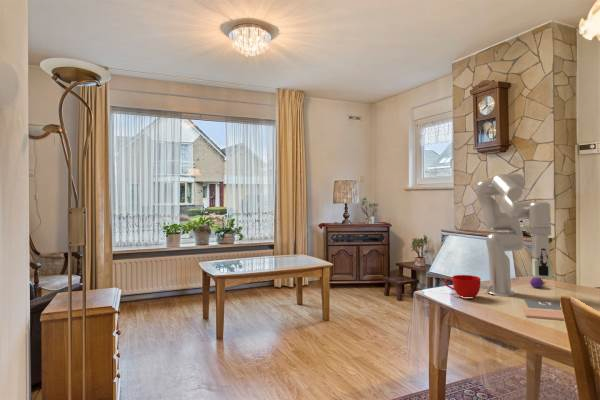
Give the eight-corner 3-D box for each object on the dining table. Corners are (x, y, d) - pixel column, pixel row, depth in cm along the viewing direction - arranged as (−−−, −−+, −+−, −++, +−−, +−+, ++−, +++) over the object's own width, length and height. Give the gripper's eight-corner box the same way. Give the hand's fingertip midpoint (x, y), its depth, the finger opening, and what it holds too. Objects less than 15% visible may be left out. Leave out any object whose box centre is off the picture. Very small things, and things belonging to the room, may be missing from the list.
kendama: (545, 275, 208) (544, 279, 192) (543, 285, 209) (542, 290, 192) (532, 272, 212) (531, 276, 195) (531, 282, 212) (529, 287, 196)
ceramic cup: (447, 292, 194) (447, 273, 194) (482, 295, 184) (481, 276, 184) (442, 298, 183) (441, 278, 183) (479, 302, 173) (478, 281, 173)
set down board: (526, 317, 150) (525, 315, 150) (522, 310, 159) (522, 308, 159) (566, 320, 144) (566, 318, 144) (560, 313, 153) (560, 311, 153)
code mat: (528, 308, 162) (528, 307, 162) (523, 300, 174) (523, 299, 174) (572, 311, 155) (572, 310, 155) (563, 302, 168) (563, 302, 168)
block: (535, 277, 150) (534, 260, 150) (532, 274, 156) (532, 258, 156) (552, 278, 148) (551, 261, 148) (549, 275, 153) (548, 259, 153)
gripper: (526, 229, 161) (528, 269, 161) (533, 233, 146) (535, 277, 145) (546, 229, 158) (548, 270, 158) (555, 233, 143) (557, 278, 142)
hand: (541, 273), depth 152 cm, fingers closed on block, 6 cm apart
